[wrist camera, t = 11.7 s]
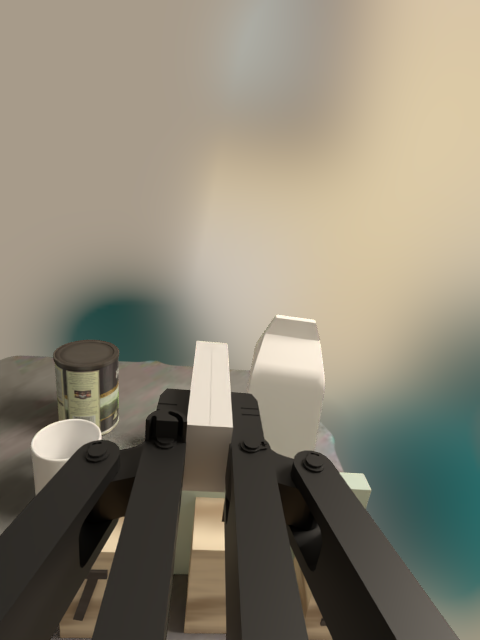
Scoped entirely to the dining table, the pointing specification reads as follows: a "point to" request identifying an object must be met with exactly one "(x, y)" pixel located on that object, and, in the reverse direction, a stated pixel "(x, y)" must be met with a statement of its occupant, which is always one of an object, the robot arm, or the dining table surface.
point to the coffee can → (88, 382)
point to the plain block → (206, 570)
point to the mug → (59, 447)
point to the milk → (289, 384)
